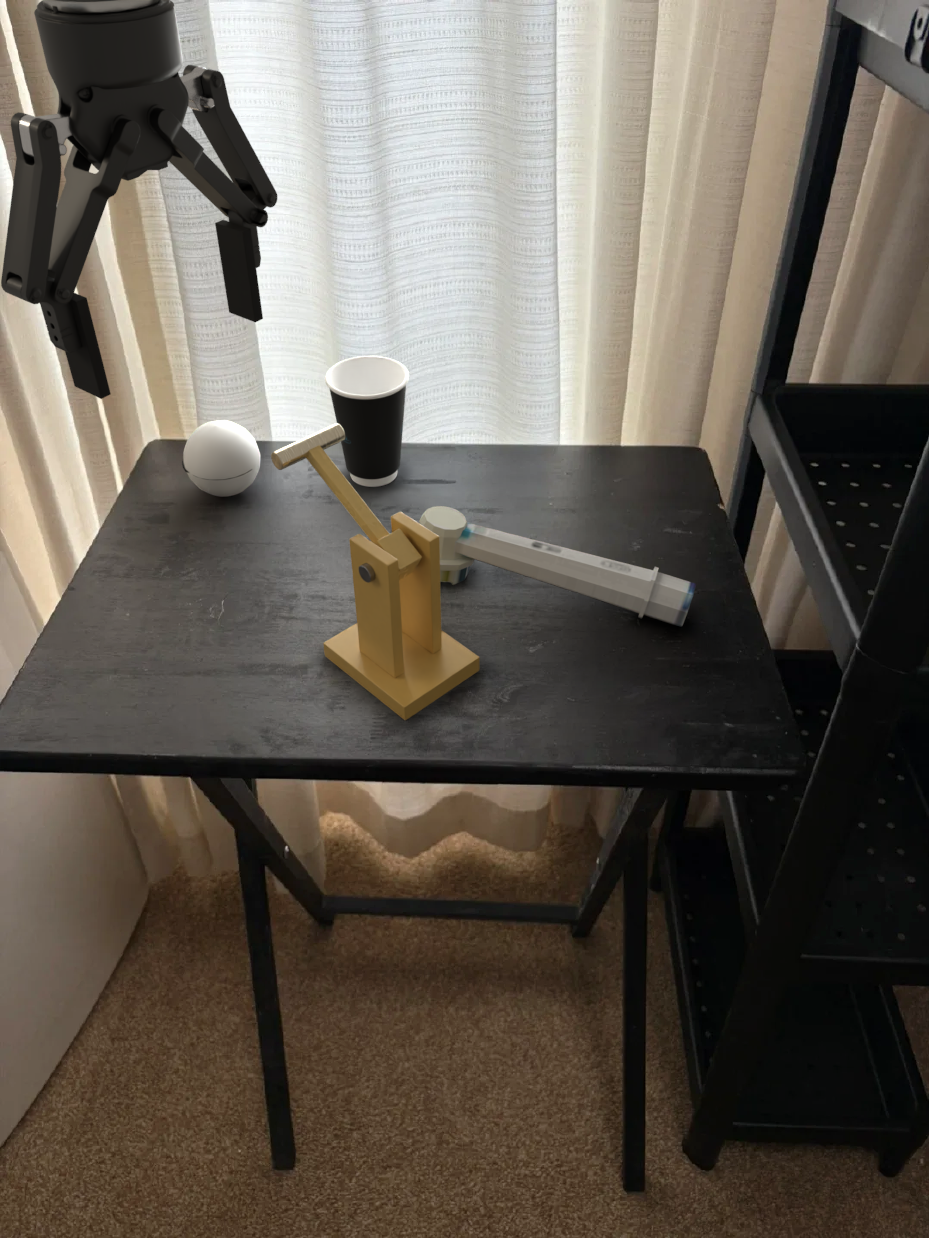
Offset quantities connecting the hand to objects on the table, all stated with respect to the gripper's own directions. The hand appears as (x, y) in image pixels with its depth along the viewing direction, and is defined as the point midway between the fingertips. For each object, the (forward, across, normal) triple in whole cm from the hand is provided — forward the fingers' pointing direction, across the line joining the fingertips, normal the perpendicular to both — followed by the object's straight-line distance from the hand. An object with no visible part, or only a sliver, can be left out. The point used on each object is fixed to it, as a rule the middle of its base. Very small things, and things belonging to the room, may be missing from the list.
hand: (173, 351), depth 72 cm
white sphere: (+26, +13, +14) cm, 32 cm away
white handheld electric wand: (+26, +20, -19) cm, 37 cm away
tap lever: (+13, +6, -9) cm, 17 cm away
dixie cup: (+26, +25, +5) cm, 36 cm away
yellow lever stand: (+25, +5, -14) cm, 30 cm away
